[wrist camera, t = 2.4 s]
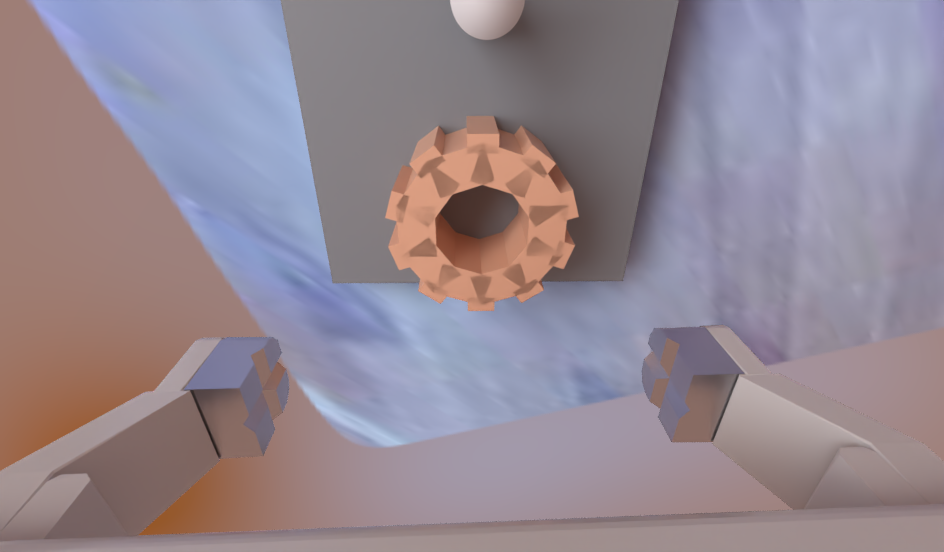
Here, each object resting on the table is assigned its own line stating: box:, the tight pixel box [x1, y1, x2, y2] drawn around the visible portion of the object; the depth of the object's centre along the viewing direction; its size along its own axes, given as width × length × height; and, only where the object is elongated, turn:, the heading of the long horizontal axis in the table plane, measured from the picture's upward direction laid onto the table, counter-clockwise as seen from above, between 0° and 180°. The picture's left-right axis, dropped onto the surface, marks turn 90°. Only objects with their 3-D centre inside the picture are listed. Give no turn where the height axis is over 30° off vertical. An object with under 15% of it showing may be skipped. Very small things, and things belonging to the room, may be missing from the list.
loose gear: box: [385, 116, 579, 311], centre depth 17 cm, size 7×7×3 cm
